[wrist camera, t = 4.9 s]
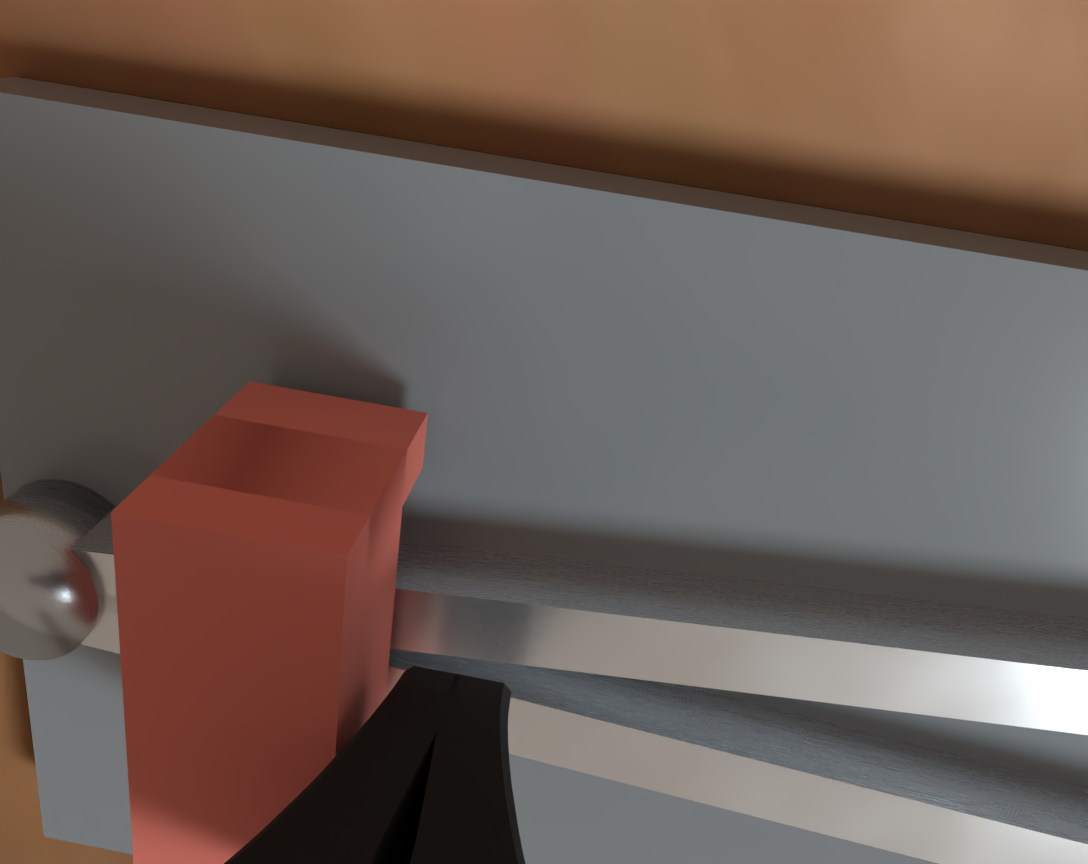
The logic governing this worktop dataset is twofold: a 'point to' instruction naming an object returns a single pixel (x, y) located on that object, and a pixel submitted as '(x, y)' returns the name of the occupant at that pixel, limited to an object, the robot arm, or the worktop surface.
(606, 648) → the tongs
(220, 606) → the red block
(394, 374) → the slate board
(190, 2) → the worktop surface
